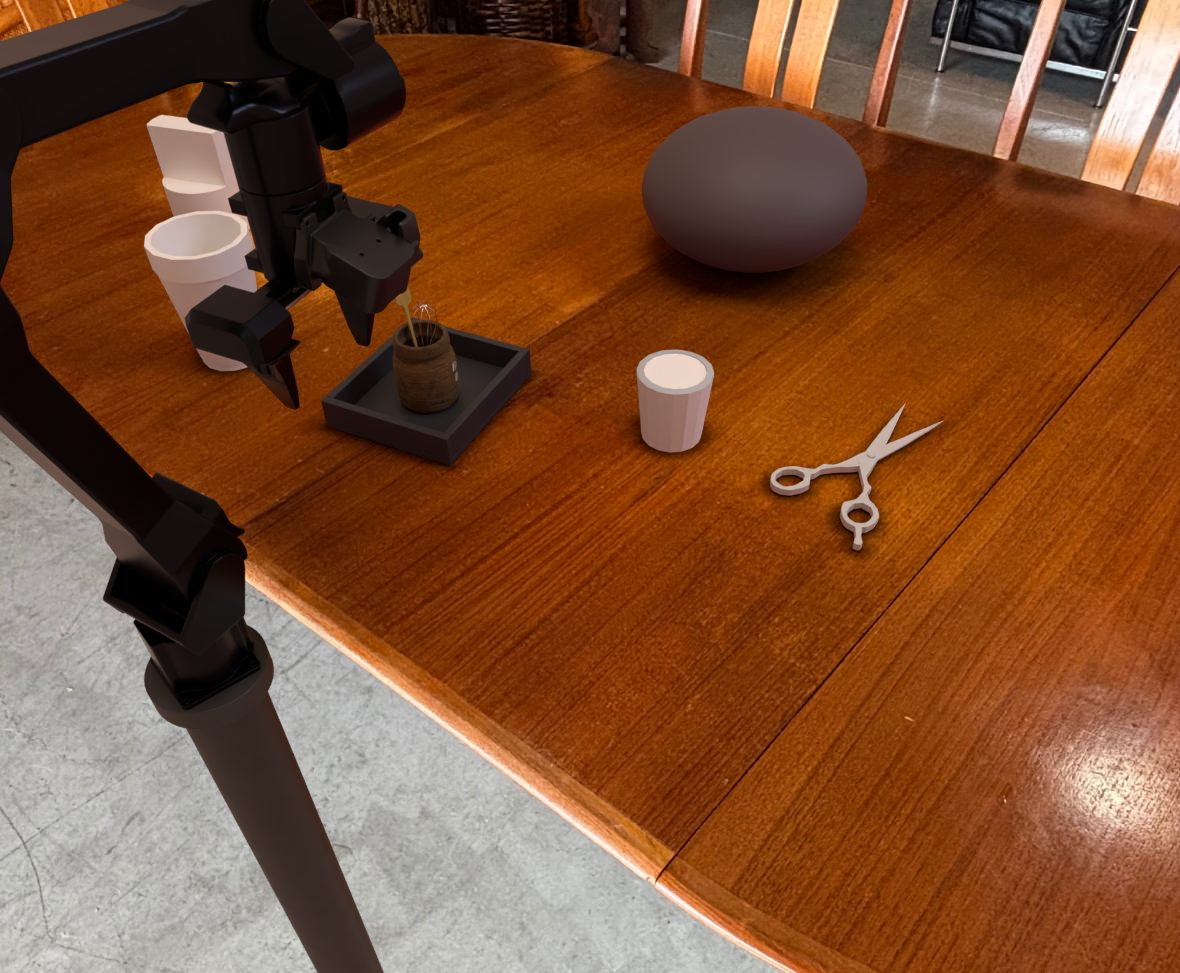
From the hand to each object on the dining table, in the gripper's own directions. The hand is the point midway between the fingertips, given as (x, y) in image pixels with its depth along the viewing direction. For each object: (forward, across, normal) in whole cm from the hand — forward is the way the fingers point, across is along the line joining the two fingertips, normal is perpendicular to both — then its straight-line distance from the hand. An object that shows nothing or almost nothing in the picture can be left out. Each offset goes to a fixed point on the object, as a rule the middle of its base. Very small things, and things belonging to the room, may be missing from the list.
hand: (329, 375), depth 76 cm
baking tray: (+13, +15, +2) cm, 20 cm away
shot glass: (+13, +20, -21) cm, 32 cm away
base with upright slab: (+13, +34, +45) cm, 58 cm away
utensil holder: (+13, +15, +2) cm, 20 cm away
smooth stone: (+13, +55, -16) cm, 59 cm away
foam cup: (+13, +13, +25) cm, 31 cm away
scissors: (+13, +23, -39) cm, 47 cm away
